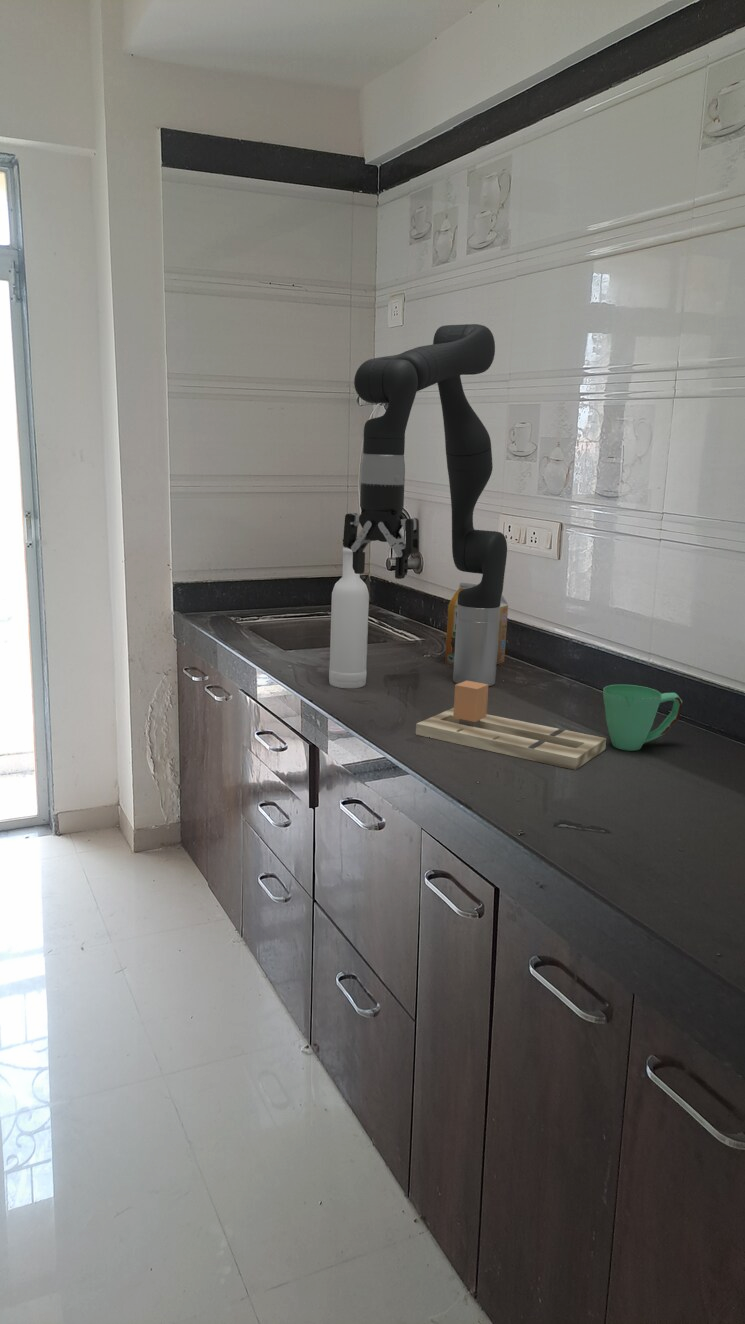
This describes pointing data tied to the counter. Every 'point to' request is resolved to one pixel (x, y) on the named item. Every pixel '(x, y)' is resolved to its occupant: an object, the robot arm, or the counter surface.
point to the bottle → (349, 628)
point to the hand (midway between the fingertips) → (379, 575)
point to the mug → (636, 714)
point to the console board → (516, 739)
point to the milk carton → (453, 619)
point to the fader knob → (470, 703)
